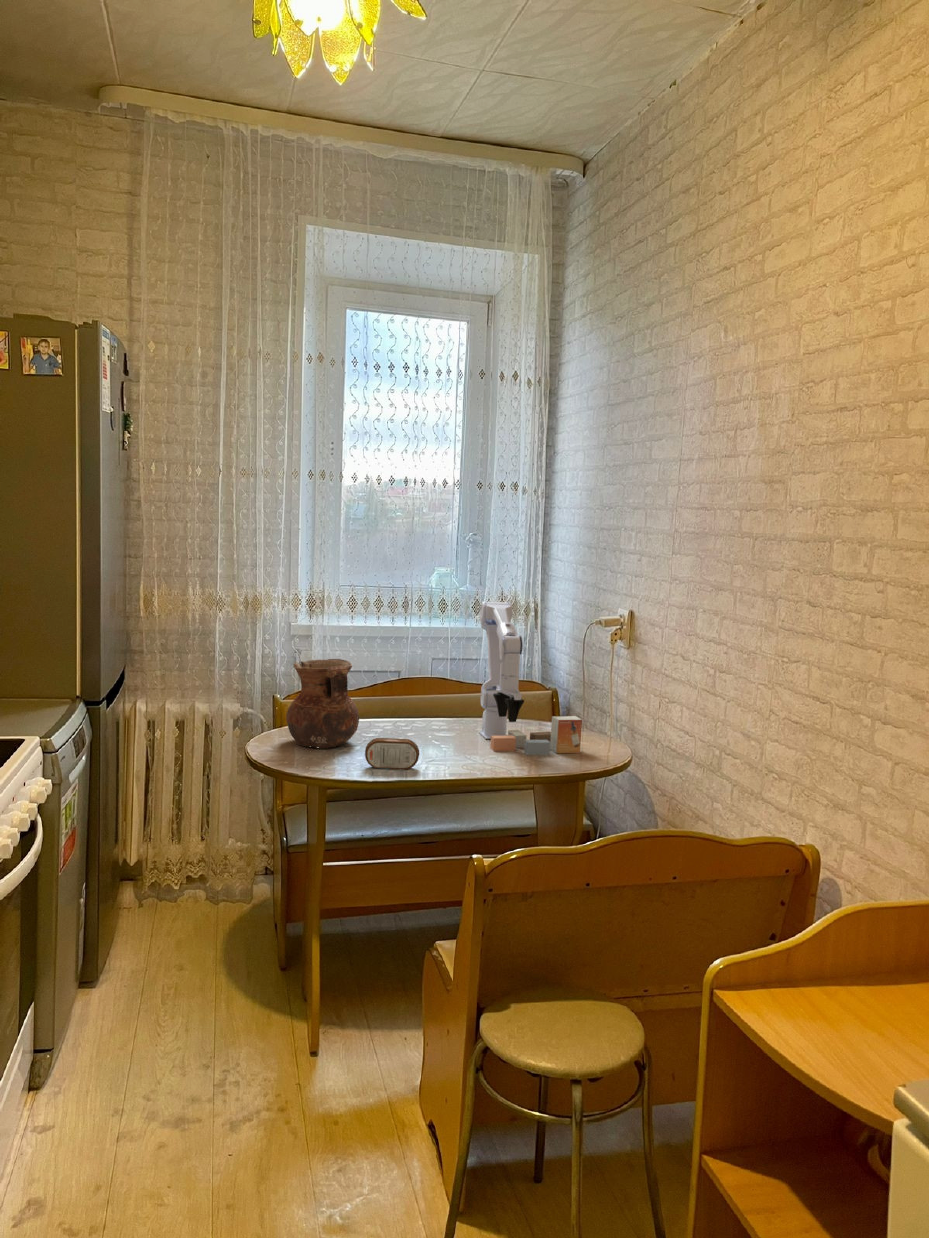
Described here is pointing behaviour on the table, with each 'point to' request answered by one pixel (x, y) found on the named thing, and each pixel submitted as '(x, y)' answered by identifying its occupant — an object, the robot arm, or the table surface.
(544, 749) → the slate brick
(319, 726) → the jug
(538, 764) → the table surface
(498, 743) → the terracotta brick
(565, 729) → the small box
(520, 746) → the grey brick
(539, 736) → the walnut brick
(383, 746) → the tin
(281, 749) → the table surface
